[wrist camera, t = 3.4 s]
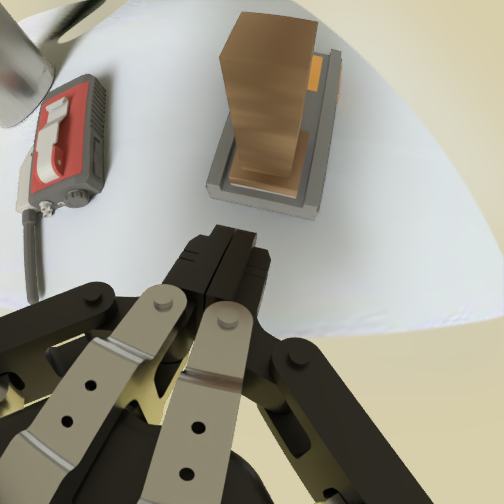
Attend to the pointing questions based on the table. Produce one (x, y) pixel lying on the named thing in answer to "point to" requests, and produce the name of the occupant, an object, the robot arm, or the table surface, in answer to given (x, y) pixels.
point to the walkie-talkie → (61, 160)
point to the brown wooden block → (268, 98)
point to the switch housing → (316, 158)
